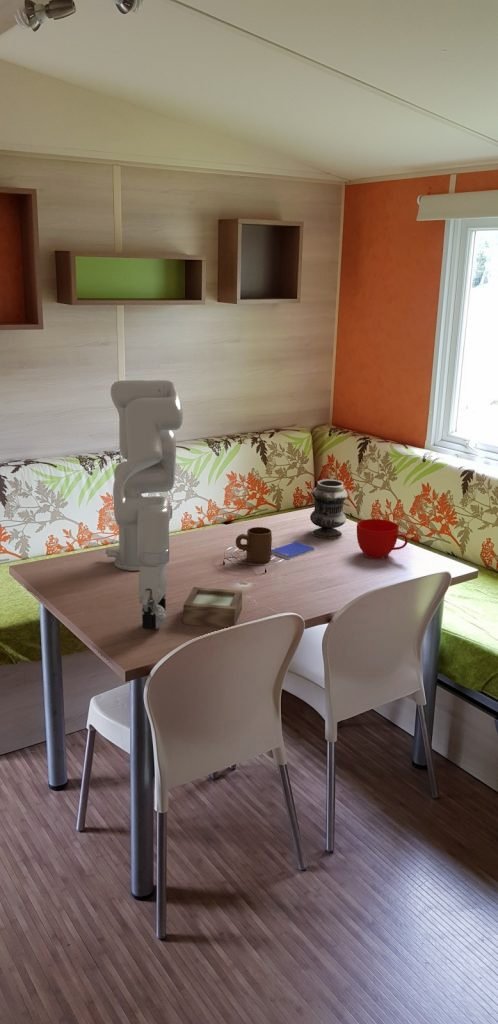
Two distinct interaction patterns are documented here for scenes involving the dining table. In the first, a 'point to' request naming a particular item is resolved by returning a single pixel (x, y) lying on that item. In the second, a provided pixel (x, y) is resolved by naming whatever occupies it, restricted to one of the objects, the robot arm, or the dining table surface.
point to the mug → (256, 544)
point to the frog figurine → (159, 615)
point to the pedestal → (212, 607)
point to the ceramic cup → (378, 537)
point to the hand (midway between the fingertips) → (154, 620)
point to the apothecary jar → (328, 508)
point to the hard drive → (292, 550)
